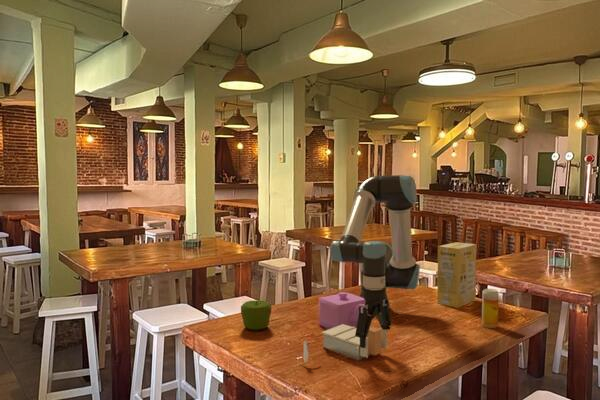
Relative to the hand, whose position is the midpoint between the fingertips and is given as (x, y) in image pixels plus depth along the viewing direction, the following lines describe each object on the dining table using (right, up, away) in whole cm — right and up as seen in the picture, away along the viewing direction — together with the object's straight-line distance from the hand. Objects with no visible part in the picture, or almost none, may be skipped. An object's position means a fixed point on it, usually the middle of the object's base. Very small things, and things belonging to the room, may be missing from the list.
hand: (373, 351), depth 151 cm
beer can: (+53, 0, +32) cm, 62 cm away
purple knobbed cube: (-7, -1, +32) cm, 33 cm away
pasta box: (+52, +1, +67) cm, 85 cm away
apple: (-43, -1, +31) cm, 53 cm away
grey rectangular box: (-7, -2, +7) cm, 10 cm away
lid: (-6, 0, +6) cm, 8 cm away
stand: (-22, -3, -5) cm, 23 cm away
